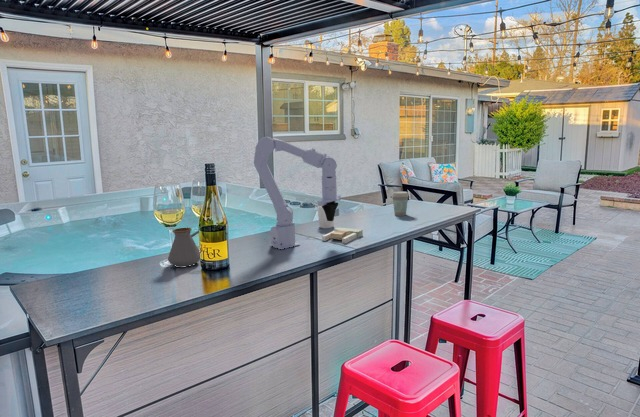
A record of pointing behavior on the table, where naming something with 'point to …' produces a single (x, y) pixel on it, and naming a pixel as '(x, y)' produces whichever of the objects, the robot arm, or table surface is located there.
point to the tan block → (339, 234)
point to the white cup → (324, 219)
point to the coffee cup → (400, 202)
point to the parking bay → (352, 235)
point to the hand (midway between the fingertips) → (330, 220)
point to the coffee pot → (184, 248)
